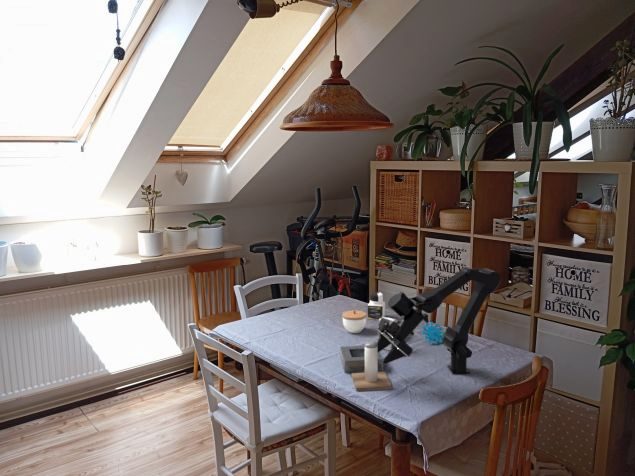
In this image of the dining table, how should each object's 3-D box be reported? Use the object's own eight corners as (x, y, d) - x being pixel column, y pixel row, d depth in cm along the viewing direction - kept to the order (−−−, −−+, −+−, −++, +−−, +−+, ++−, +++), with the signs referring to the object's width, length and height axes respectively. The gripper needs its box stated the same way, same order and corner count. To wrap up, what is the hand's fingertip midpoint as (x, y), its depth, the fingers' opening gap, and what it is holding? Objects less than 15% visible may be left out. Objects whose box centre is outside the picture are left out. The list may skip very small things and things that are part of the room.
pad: (391, 388, 180) (391, 386, 180) (356, 390, 179) (356, 388, 179) (384, 374, 192) (384, 371, 192) (351, 375, 191) (351, 373, 191)
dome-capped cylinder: (380, 380, 185) (380, 344, 183) (369, 383, 183) (369, 347, 180) (372, 375, 188) (372, 340, 186) (362, 378, 186) (362, 343, 184)
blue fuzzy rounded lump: (425, 342, 217) (421, 320, 223) (419, 348, 222) (415, 326, 228) (450, 343, 220) (445, 321, 225) (444, 349, 224) (440, 328, 230)
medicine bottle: (367, 319, 253) (367, 294, 251) (370, 314, 260) (370, 290, 258) (382, 320, 251) (382, 295, 249) (385, 315, 258) (385, 291, 256)
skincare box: (377, 348, 217) (377, 319, 215) (382, 344, 220) (381, 316, 218) (392, 350, 214) (392, 321, 212) (396, 347, 217) (396, 318, 215)
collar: (383, 370, 195) (383, 358, 194) (344, 372, 194) (344, 360, 193) (376, 356, 209) (375, 345, 208) (340, 357, 208) (340, 346, 207)
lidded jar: (370, 332, 235) (370, 312, 233) (348, 336, 231) (348, 315, 229) (360, 325, 245) (359, 305, 243) (338, 328, 241) (338, 308, 239)
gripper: (382, 302, 192) (354, 335, 192) (403, 318, 174) (372, 354, 174) (403, 321, 196) (375, 353, 195) (425, 338, 178) (395, 374, 177)
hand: (378, 358), depth 185 cm, fingers open, 9 cm apart
